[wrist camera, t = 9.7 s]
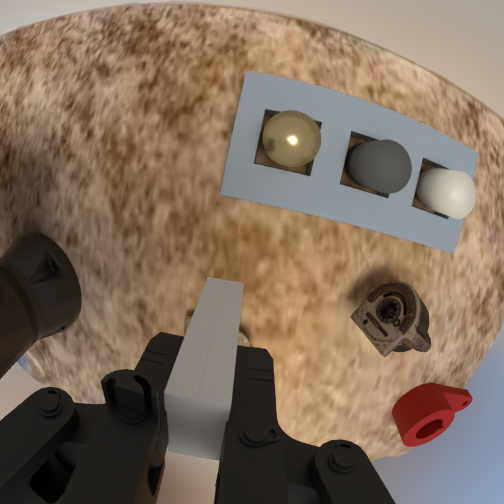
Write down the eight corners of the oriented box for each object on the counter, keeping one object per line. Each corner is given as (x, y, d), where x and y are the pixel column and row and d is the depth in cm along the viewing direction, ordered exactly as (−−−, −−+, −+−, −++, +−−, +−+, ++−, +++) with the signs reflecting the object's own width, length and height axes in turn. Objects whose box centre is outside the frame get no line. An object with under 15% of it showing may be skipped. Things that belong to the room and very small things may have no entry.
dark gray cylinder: (342, 180, 26) (358, 185, 21) (352, 136, 24) (370, 131, 19) (382, 192, 26) (404, 200, 21) (392, 150, 24) (416, 149, 19)
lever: (383, 421, 39) (393, 449, 33) (406, 383, 36) (421, 413, 30) (454, 411, 39) (466, 433, 33) (478, 376, 36) (493, 398, 30)
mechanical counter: (368, 253, 30) (406, 292, 20) (440, 293, 31) (481, 333, 21) (336, 306, 32) (358, 360, 23) (411, 337, 33) (442, 385, 24)
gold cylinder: (259, 160, 25) (257, 160, 21) (268, 114, 24) (269, 104, 19) (305, 170, 25) (314, 173, 21) (315, 125, 24) (326, 118, 19)
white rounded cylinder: (411, 202, 26) (437, 211, 21) (421, 161, 24) (448, 164, 19) (442, 213, 26) (469, 224, 21) (452, 175, 24) (479, 180, 20)
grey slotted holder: (224, 191, 29) (220, 195, 26) (248, 79, 25) (246, 70, 22) (440, 246, 29) (453, 253, 26) (463, 152, 25) (478, 152, 22)
